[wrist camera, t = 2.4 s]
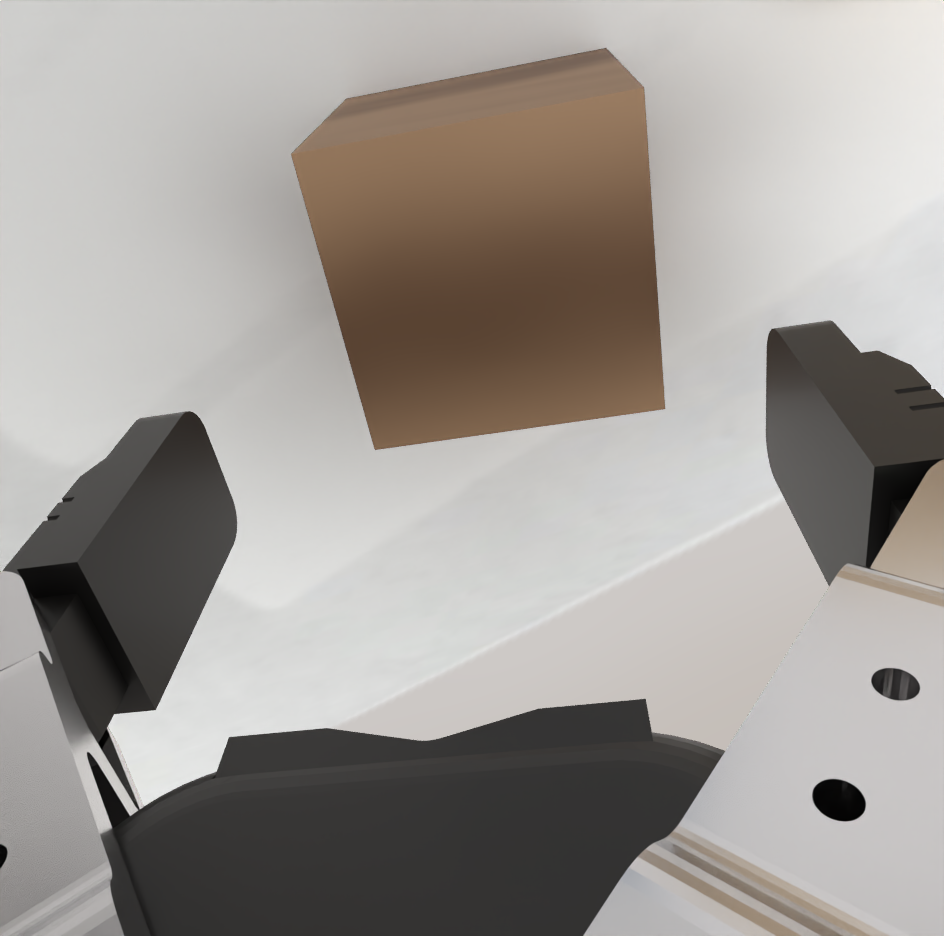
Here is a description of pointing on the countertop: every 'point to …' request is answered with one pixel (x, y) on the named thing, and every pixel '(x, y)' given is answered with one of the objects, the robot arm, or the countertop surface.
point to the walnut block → (491, 249)
